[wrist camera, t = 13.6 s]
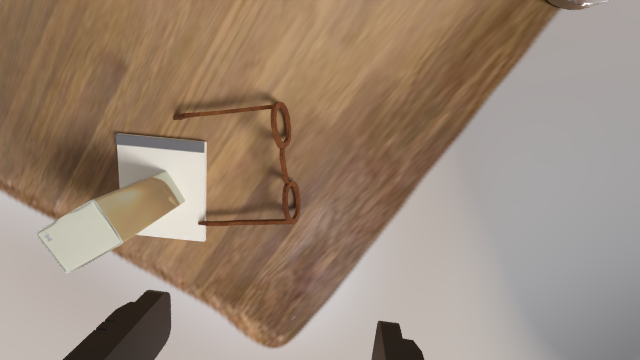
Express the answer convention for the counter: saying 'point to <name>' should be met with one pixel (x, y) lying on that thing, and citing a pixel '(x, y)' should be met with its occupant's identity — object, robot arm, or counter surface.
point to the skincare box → (109, 220)
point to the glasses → (282, 147)
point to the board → (183, 167)
